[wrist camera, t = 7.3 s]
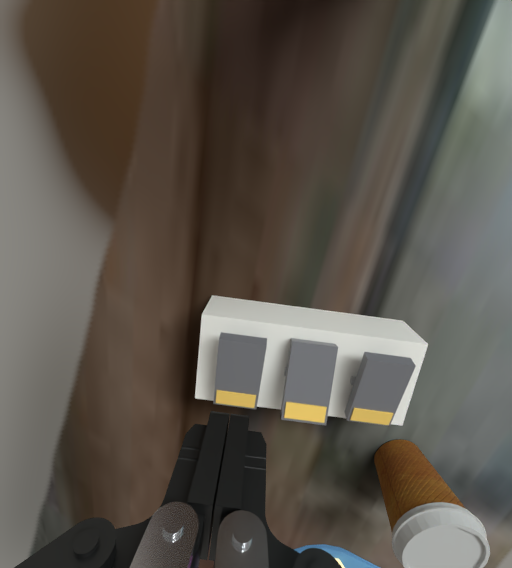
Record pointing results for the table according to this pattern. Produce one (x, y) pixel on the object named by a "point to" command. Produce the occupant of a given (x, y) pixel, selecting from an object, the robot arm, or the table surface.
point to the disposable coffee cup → (426, 513)
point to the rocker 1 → (239, 370)
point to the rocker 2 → (308, 381)
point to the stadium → (342, 556)
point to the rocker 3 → (378, 388)
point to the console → (307, 326)
